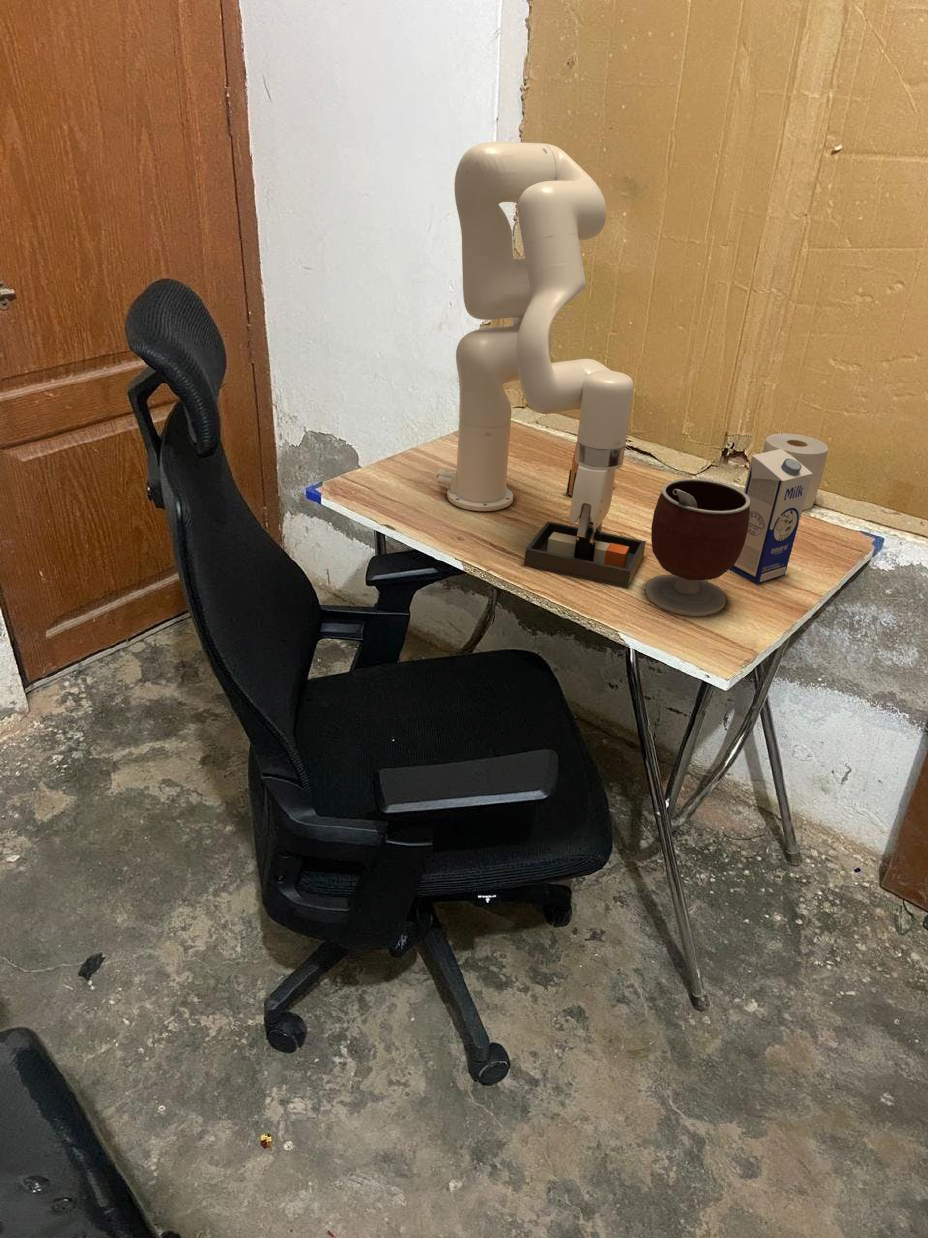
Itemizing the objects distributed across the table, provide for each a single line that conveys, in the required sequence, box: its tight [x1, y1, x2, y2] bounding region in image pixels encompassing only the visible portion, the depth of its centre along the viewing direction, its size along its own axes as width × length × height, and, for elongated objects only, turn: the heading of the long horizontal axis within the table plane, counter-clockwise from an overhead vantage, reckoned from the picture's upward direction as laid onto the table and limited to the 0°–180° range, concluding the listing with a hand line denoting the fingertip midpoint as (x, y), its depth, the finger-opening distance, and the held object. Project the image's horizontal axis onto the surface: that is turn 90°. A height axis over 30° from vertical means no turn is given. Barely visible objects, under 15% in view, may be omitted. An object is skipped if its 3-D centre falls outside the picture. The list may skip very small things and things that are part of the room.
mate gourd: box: [645, 478, 750, 617], centre depth 130 cm, size 16×14×20 cm
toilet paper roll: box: [761, 432, 829, 511], centre depth 170 cm, size 12×12×12 cm
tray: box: [523, 521, 647, 589], centre depth 144 cm, size 17×12×3 cm
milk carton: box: [729, 449, 813, 585], centre depth 140 cm, size 7×7×20 cm
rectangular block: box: [547, 532, 629, 568], centre depth 144 cm, size 13×3×3 cm, turn 68°
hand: (586, 557), depth 144 cm, fingers closed on rectangular block, 3 cm apart
